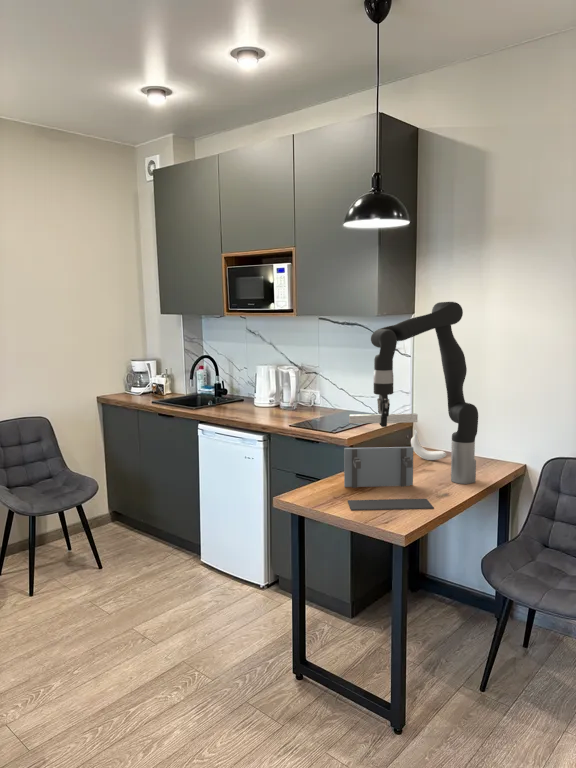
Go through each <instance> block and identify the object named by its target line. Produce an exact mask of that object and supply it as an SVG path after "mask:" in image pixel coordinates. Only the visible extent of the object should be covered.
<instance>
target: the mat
mask: <svg viewBox="0 0 576 768" xmlns="http://www.w3.org/2000/svg"><path fill="white" fill-rule="evenodd" d="M347 504H348V506H350V507H349V509H350V511H381V510H382V511H386V510H387V511H391V510H392V511H396V510H434V509H435V508H434V506H433V505H432V503H431V502H430V501H429V500H428V498H397V499H396V498H393V499H391V498H389V499H388V498H387V499H386V498H385V499H347Z"/></svg>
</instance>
